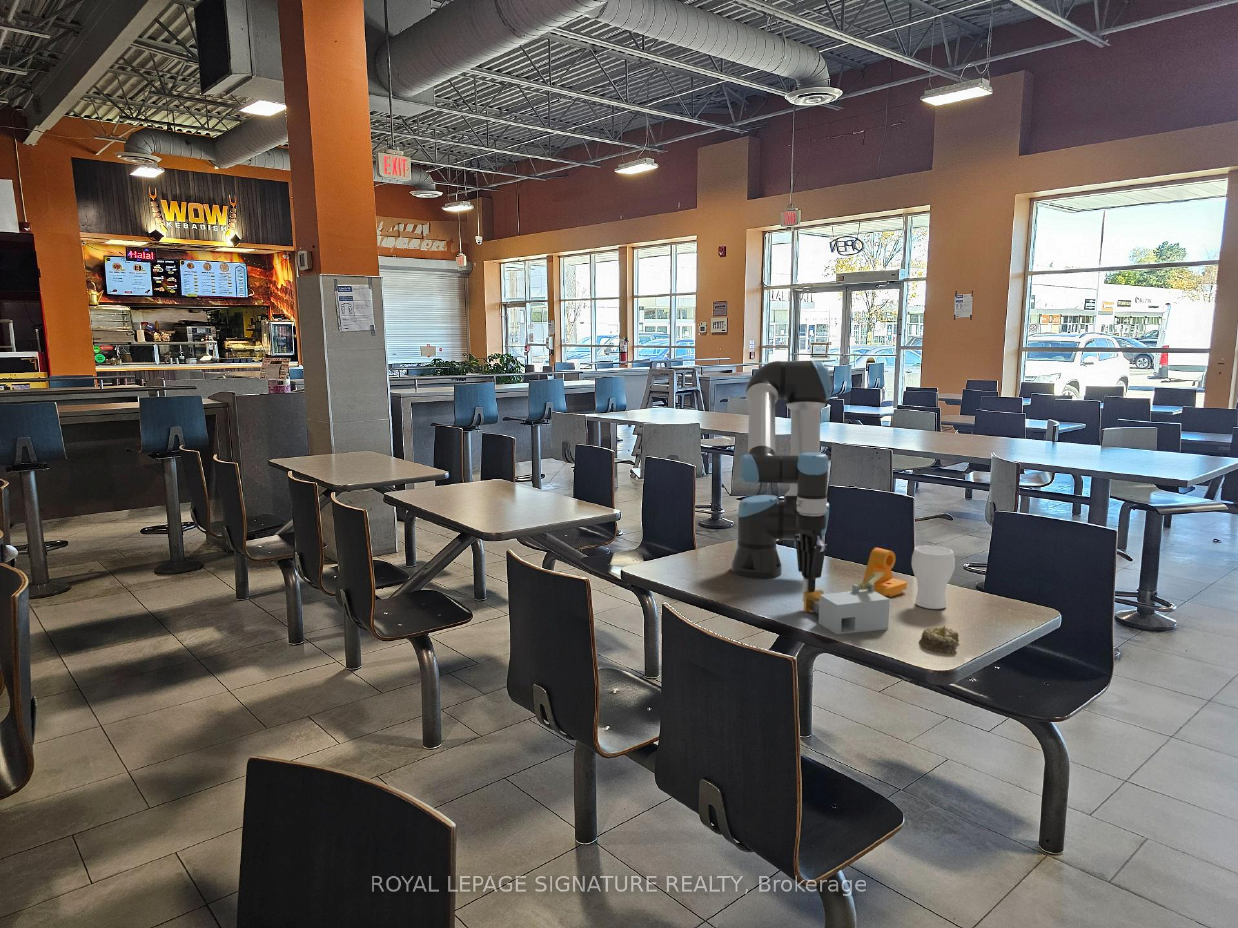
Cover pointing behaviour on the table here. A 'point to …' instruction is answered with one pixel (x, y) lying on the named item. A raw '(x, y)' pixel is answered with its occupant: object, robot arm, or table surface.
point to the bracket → (884, 572)
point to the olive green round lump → (940, 640)
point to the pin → (812, 601)
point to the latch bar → (870, 580)
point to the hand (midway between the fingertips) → (808, 601)
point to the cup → (932, 574)
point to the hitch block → (854, 611)
